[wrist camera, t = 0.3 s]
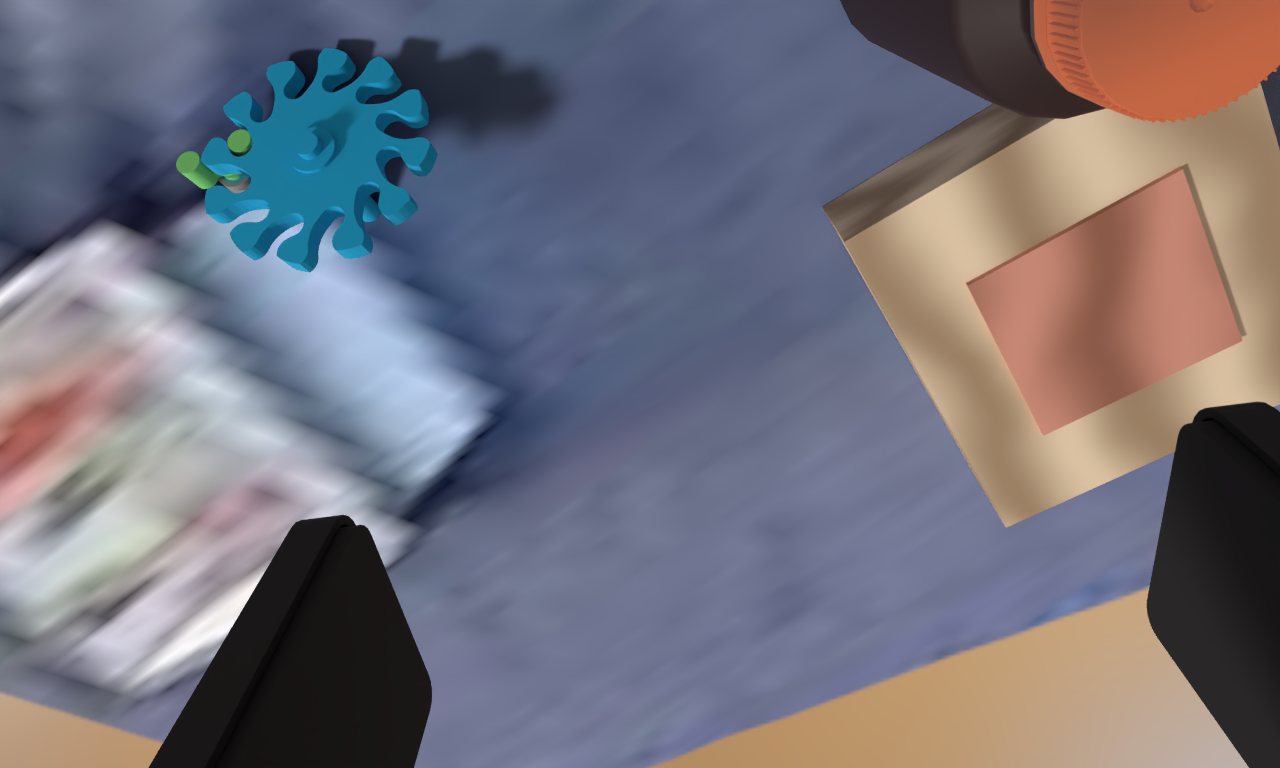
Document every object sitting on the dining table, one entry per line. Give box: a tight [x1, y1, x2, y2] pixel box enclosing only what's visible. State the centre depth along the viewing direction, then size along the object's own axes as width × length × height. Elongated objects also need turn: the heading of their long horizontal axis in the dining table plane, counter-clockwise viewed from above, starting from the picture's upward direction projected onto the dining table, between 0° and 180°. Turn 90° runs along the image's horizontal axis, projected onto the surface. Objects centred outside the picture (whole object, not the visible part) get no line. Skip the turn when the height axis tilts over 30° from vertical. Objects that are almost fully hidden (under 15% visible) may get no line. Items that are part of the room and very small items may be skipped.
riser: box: [823, 83, 1280, 528], centre depth 38 cm, size 16×18×5 cm
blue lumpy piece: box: [176, 48, 438, 272], centre depth 36 cm, size 11×6×10 cm
